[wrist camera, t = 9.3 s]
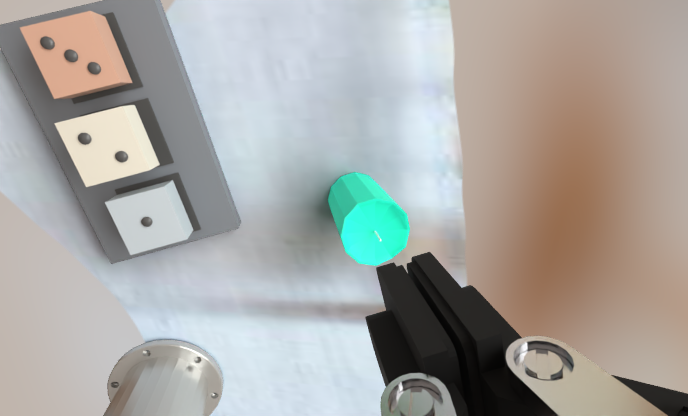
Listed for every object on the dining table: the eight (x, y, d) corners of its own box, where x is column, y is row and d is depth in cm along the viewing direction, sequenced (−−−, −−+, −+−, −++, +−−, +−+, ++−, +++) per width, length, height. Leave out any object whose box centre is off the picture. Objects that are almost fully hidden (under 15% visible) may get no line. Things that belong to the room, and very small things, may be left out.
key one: (193, 230, 36) (186, 239, 34) (140, 244, 36) (129, 255, 33) (172, 179, 34) (164, 186, 32) (116, 194, 34) (103, 202, 32)
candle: (328, 226, 41) (344, 277, 30) (326, 173, 39) (342, 206, 28) (381, 222, 42) (415, 270, 31) (381, 170, 40) (418, 201, 29)
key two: (159, 164, 32) (149, 170, 30) (100, 180, 32) (85, 187, 30) (134, 104, 31) (121, 106, 28) (71, 120, 30) (53, 123, 28)
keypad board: (240, 221, 40) (238, 228, 38) (119, 255, 39) (110, 264, 37) (158, -5, 32) (149, -12, 30) (7, 31, 32) (-12, 27, 30)
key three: (132, 82, 32) (119, 82, 29) (71, 98, 31) (53, 99, 29) (105, 16, 30) (89, 10, 27) (39, 32, 30) (18, 27, 27)
